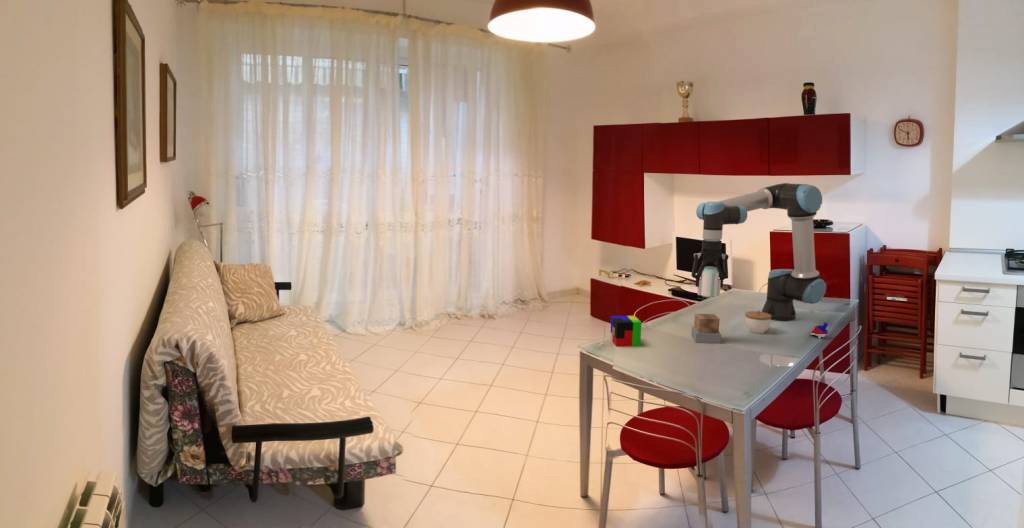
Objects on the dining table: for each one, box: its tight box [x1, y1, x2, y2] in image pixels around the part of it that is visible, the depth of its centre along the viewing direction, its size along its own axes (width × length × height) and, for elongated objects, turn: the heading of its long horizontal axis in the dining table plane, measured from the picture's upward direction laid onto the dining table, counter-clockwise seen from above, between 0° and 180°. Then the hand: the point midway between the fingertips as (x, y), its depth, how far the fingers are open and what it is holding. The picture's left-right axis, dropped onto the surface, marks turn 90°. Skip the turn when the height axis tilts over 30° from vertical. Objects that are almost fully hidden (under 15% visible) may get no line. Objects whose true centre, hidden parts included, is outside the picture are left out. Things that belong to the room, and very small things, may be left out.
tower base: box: [690, 326, 722, 344], centre depth 262 cm, size 10×10×4 cm
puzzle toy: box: [609, 315, 642, 347], centre depth 257 cm, size 10×10×10 cm
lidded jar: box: [744, 310, 772, 334], centre depth 273 cm, size 11×11×9 cm
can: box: [699, 265, 720, 298], centre depth 257 cm, size 7×7×12 cm
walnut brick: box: [693, 313, 721, 333], centre depth 261 cm, size 8×8×6 cm
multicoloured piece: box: [810, 322, 829, 335], centre depth 265 cm, size 4×4×8 cm
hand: (708, 294), depth 258 cm, fingers closed on can, 7 cm apart
